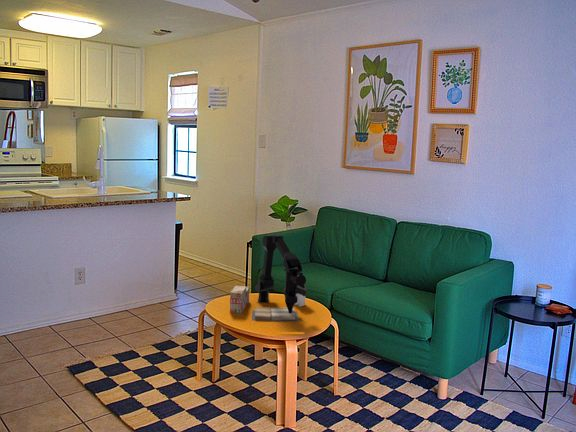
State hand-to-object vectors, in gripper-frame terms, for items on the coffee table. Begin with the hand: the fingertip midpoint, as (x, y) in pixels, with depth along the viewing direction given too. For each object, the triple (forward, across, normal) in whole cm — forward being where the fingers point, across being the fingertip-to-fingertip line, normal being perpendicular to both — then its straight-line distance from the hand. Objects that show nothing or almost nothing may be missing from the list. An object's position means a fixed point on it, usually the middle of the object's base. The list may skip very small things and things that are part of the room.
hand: (289, 310), depth 285 cm
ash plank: (+3, 0, +4) cm, 5 cm away
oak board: (+3, 0, +14) cm, 14 cm away
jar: (+4, +23, -5) cm, 24 cm away
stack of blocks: (+4, +14, +26) cm, 30 cm away
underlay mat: (+4, 0, +8) cm, 9 cm away
